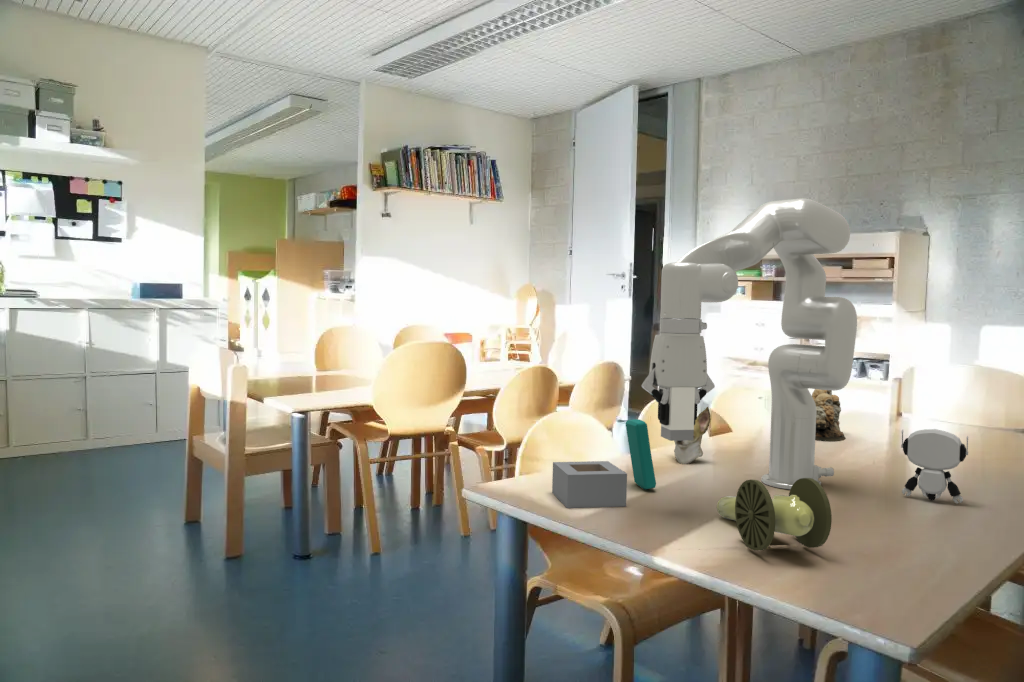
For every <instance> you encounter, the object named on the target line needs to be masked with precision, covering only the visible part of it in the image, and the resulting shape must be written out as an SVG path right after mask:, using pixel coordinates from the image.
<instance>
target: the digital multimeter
mask: <svg viewBox="0 0 1024 682" xmlns="http://www.w3.org/2000/svg"><path fill="white" fill-rule="evenodd" d="M625 428H626V435H627V442H628V447H629V454H630V460H631V468H632V473H633V474H632V476H633V480H634V483H635V484H636V485H637V486H638V487H639V486H640V487H639V488H640V489H642V488H643V489H642V490H649V489H654V488H656V486H657V482H656V481H657V480H656V474H655V469H654V463H653V457H652V450H651V445H650V444H651V443H650V438H649V429H648V424H647V423H646V421H644V420H641V419H639V418H638V419H637V418H634V419H629V420H627V421H625Z"/></svg>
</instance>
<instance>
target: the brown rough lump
mask: <svg viewBox="0 0 1024 682" xmlns="http://www.w3.org/2000/svg"><path fill="white" fill-rule="evenodd" d="M832 391H833V390H820V389H813V392H812V394H811V395H812V397H813V399H814V402H815V405H816V433H815V442H816V441H817V442H827V443H829V442H830V443H831V442H835V443H836V442H841V441H845V440H846V436H845V435H844V433H843V431H841V427H840V421H839V420H840V414H841V411H842V407H841V401H840V396H838V395H836V394H833V392H832Z"/></svg>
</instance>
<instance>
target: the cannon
mask: <svg viewBox="0 0 1024 682" xmlns="http://www.w3.org/2000/svg"><path fill="white" fill-rule="evenodd" d="M736 492H737V493H736V496H733V495H726V496H723V497H721V498H720V499H719V500H718V501H717V503H716V510H717V513H718V514H719V516H720V517H722V518H723V519H726V520H732V521H735V522H736V526H737V530H738V533H739V536H740V538H741V539H742V542H743V543H744V544H745V545H746V547H748V548H749V549H750V550H752V551H765V550H766V549H768V548H769V546H770V545H771V543H772V542H773V539H774V536H775V533H777V534H784V535H788V536H793V537H795V538H796V540H798V542H799V543H800V544H801V545H803V546H804V547H806V548H809V549H810V548H812V549H813V548H819V547H822V546H823V545H824V544H825V543H826V542H827V540H828V538H829V536H830V534H831V529H832V520H833V519H832V507H831V505H830V504H831V503H830V500H829V497H828V495H827V493H826V491H825V489H824V488H823V486H822V484H821V485H820V484H819V483H818V482H817V481H816V480H814V479H811V478H801V479H799V480H797V481H796V482H795V483H794V484H793V486H792V487H791V489H789V493H788V495H783V494H782V495H781V494H774V495H773V498H772V497H771V494H770V491H769V490H768V488H767V487H766V486H765V485H764V483H763V482H762V481H760V480H758V479H747V480H744V481H743V482H742V483H741V484H740V486H739V488H738V489H737V491H736Z"/></svg>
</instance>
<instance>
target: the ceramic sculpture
mask: <svg viewBox="0 0 1024 682" xmlns="http://www.w3.org/2000/svg"><path fill="white" fill-rule="evenodd" d="M710 422H711V412H710V409H709V406H707V407H705V409H704V410H702V411H701V412H699V414H697V419H696V420H695V425H694V435H693V440H684V441H673V442H674V445H675V447H674V450H673V451H674V456H675V458H676V460H677V462H678V463H679V464H681V463H682V464H683V465H684V464H685V465H686V464H688V463H689V464H691V463H693V462H694V461H695V460H696V459H698V458H701V457H702V456H703V454H704V452H703V450H702V447H701V446H702V442H703V440H702V439H703V435H704V434H706V433H707V431H708V430H709V428H710Z"/></svg>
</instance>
